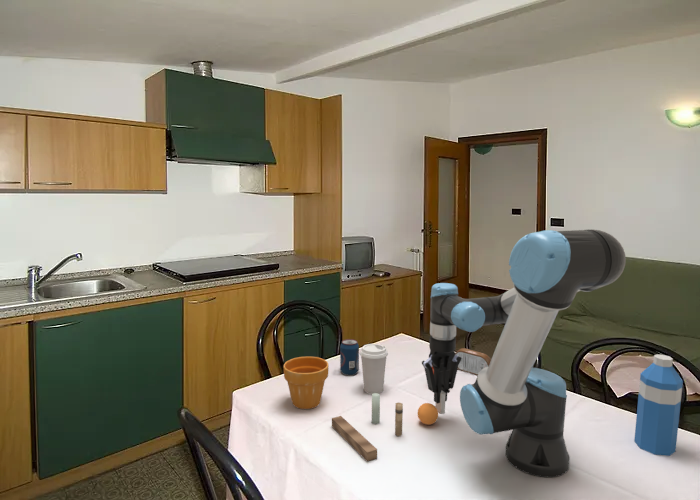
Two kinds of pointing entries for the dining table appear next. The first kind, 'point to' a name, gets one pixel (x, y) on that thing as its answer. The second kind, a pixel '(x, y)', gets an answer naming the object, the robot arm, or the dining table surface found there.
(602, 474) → the dining table surface
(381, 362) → the coffee cup
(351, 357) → the soda can
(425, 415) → the ball
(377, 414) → the side pin
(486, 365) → the tin
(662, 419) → the water bottle
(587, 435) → the dining table surface
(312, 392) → the flower pot
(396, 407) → the pin
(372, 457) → the brown wooden bar
